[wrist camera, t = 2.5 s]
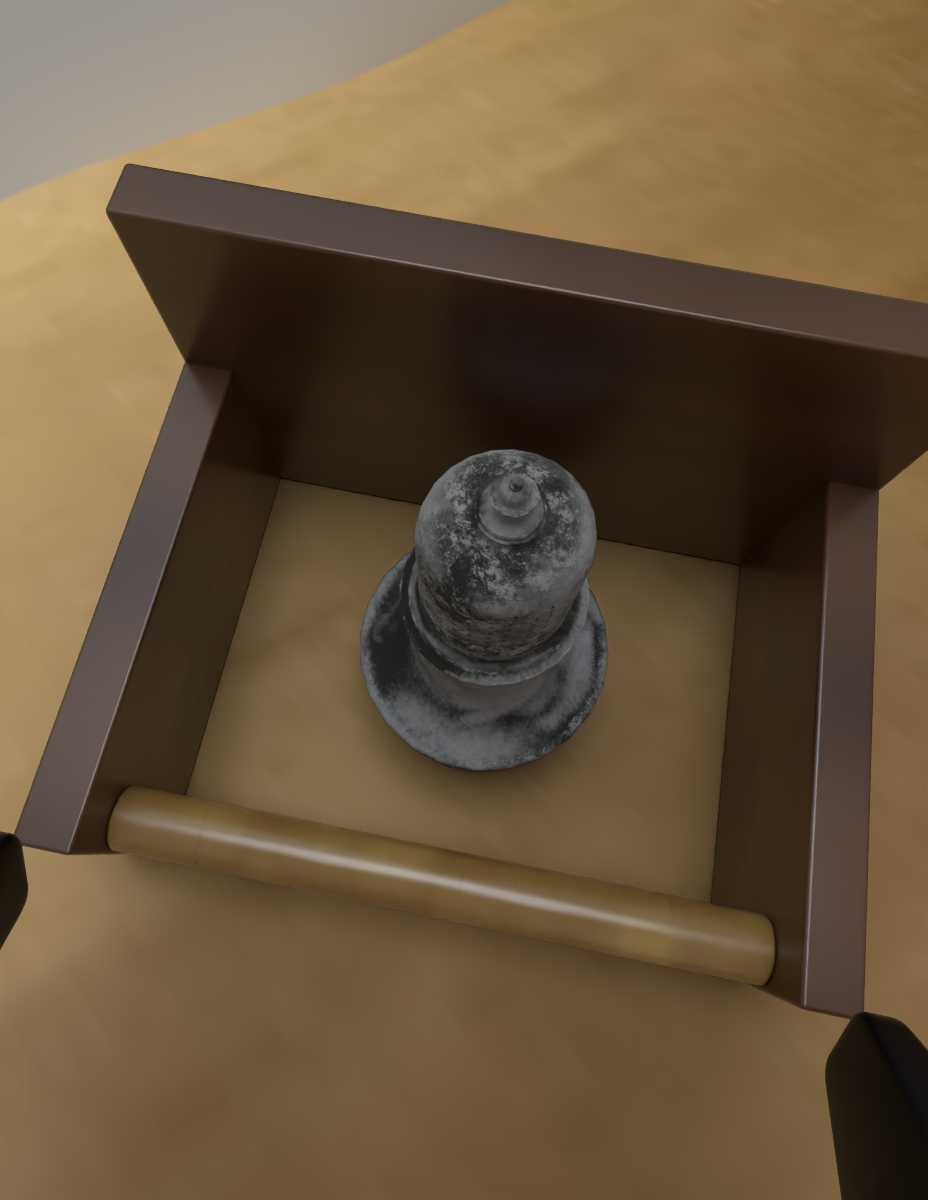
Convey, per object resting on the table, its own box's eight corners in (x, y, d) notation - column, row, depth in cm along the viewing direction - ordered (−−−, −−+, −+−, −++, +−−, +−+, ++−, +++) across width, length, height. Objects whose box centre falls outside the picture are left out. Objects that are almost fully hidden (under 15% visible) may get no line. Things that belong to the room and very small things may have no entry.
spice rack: (751, 975, 19) (1050, 1099, 10) (123, 844, 20) (-171, 841, 10) (782, 536, 23) (1020, 317, 14) (253, 436, 24) (124, 160, 14)
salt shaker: (625, 688, 21) (831, 507, 10) (466, 829, 20) (496, 807, 9) (488, 538, 23) (533, 228, 11) (330, 663, 21) (202, 454, 10)
